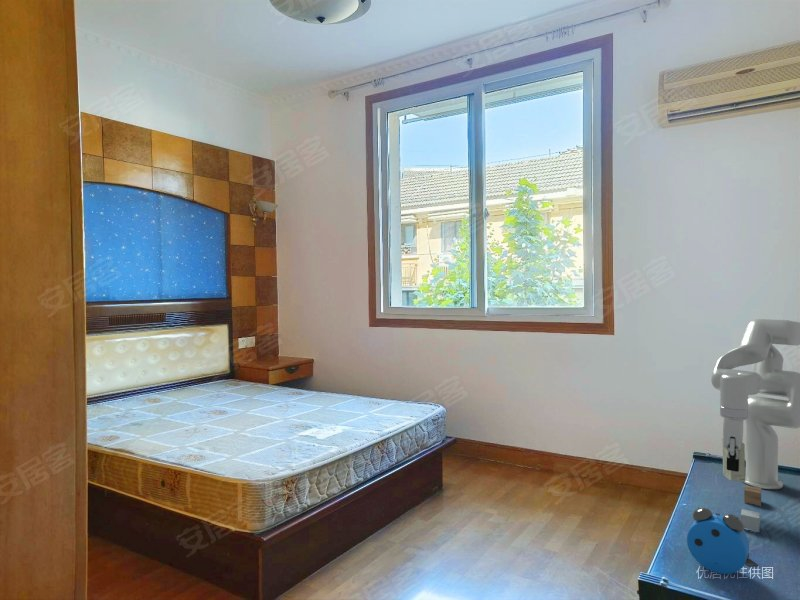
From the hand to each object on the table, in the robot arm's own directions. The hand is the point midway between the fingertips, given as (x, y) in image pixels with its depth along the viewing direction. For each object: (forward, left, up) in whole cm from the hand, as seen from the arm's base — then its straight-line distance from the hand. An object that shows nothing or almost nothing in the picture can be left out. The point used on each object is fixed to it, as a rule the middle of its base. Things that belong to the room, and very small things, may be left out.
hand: (733, 466), depth 164 cm
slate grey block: (+11, +5, -15) cm, 19 cm away
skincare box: (0, 0, -4) cm, 4 cm away
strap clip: (+32, +4, -15) cm, 36 cm away
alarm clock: (+42, -1, -15) cm, 45 cm away
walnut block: (-11, +5, -15) cm, 19 cm away
